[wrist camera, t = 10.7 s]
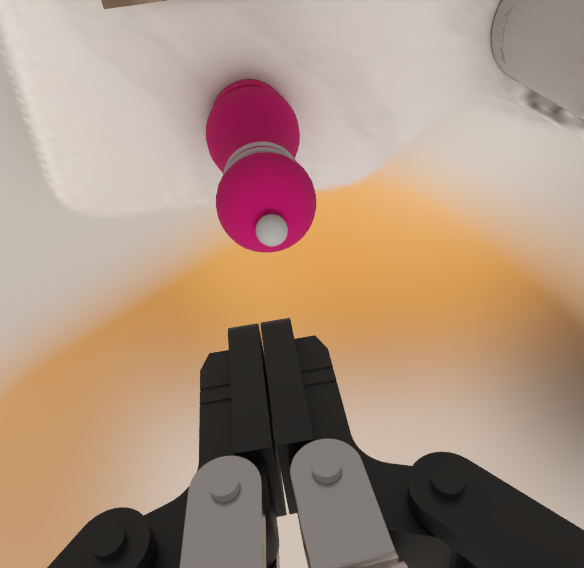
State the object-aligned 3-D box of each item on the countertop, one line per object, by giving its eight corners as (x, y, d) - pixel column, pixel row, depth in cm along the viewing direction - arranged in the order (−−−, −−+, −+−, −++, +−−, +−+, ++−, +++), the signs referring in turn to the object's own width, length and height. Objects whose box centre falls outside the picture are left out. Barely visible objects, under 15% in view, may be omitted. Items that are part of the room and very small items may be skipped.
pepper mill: (206, 68, 42) (206, 172, 26) (296, 75, 43) (349, 179, 27) (205, 155, 46) (204, 292, 30) (287, 160, 47) (329, 293, 31)
